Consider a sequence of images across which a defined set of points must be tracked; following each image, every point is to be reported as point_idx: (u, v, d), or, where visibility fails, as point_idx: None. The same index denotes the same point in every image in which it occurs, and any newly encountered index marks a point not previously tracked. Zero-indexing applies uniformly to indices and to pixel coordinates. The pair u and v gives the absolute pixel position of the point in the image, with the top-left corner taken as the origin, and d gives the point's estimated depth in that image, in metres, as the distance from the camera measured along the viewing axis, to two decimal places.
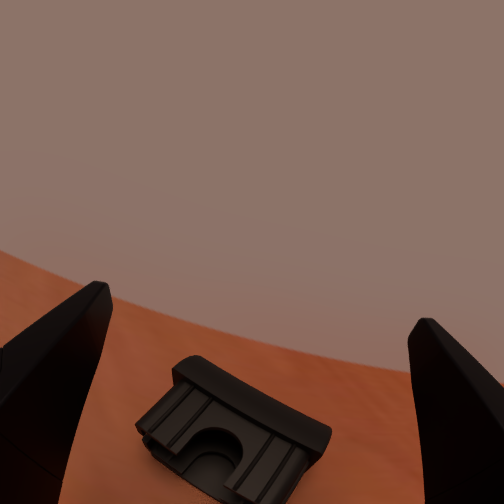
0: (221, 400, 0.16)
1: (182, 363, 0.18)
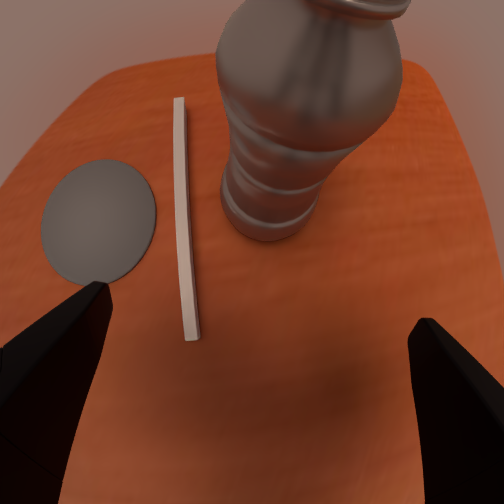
0: None
1: None
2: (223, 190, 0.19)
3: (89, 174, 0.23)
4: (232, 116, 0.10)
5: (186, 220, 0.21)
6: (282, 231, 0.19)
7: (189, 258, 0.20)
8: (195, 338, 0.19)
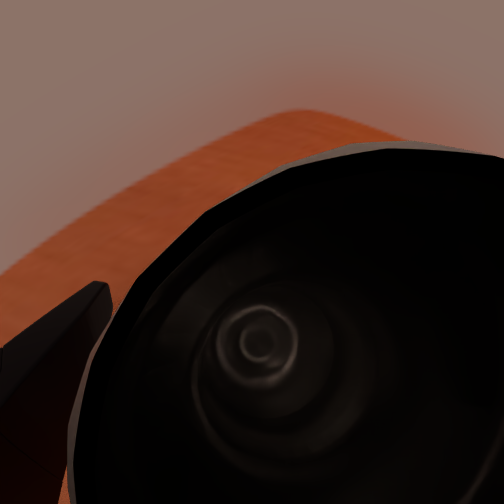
0: None
1: None
2: None
3: None
4: None
5: None
6: None
7: None
8: None
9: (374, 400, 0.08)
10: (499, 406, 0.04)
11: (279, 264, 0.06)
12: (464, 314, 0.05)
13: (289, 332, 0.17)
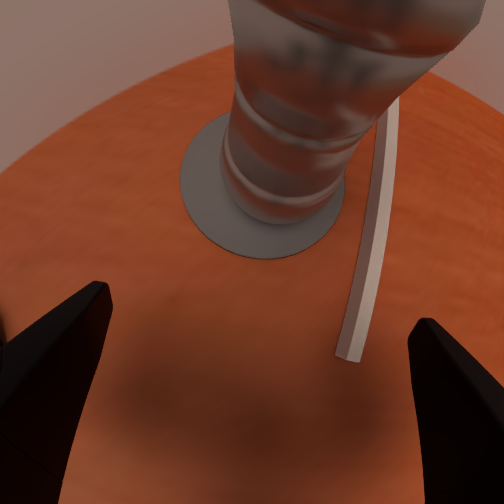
0: None
1: None
2: (225, 160, 0.14)
3: None
4: (251, 8, 0.05)
5: (387, 225, 0.17)
6: (307, 208, 0.14)
7: (379, 268, 0.17)
8: (357, 360, 0.16)
9: None
10: None
11: None
12: None
13: None
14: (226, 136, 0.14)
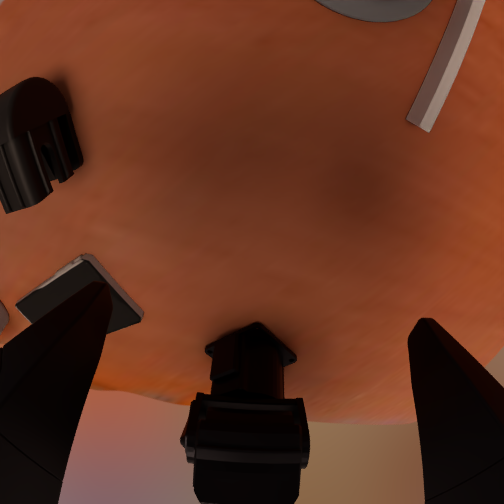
0: None
1: None
2: None
3: None
4: None
5: (473, 29, 0.11)
6: None
7: (460, 61, 0.13)
8: (428, 130, 0.15)
9: None
10: None
11: None
12: None
13: None
14: None
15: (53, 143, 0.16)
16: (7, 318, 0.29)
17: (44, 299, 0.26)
